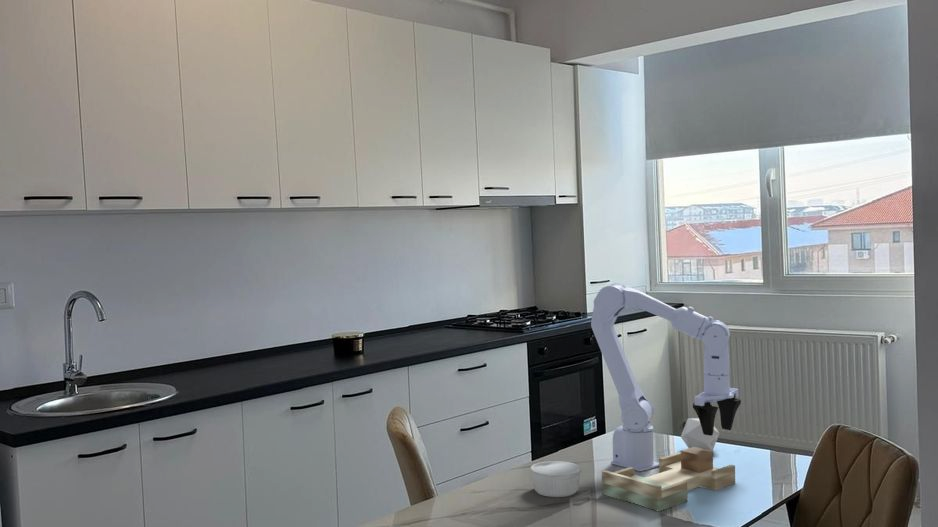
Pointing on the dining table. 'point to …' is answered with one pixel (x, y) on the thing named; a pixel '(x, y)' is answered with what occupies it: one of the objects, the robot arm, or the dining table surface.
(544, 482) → the ramekin
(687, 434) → the die
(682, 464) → the walnut block
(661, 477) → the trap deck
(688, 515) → the dining table surface
